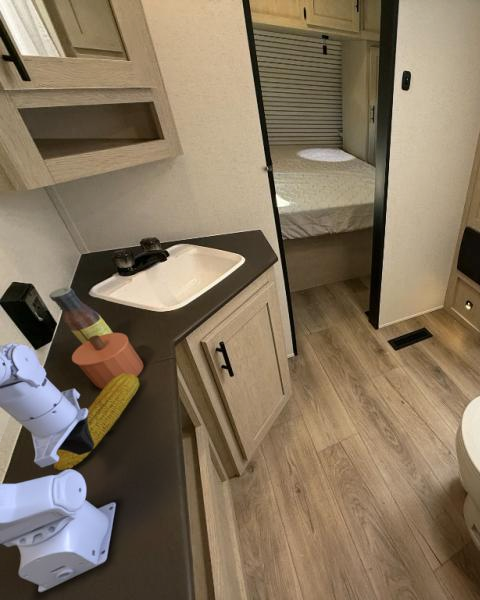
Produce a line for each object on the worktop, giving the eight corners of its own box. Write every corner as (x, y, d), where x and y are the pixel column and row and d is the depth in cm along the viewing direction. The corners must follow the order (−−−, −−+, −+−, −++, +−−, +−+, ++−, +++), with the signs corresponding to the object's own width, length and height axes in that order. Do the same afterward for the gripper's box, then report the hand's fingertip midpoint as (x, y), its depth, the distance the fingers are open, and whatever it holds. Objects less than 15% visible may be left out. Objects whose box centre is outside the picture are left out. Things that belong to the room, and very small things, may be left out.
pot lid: (126, 357, 73) (117, 345, 71) (69, 374, 69) (57, 361, 67) (132, 331, 81) (124, 318, 78) (80, 344, 77) (70, 331, 74)
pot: (141, 379, 78) (124, 355, 73) (91, 395, 74) (69, 370, 69) (145, 354, 85) (129, 330, 80) (99, 367, 81) (80, 342, 76)
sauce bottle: (126, 341, 89) (86, 282, 77) (116, 357, 84) (71, 297, 72) (99, 345, 88) (54, 285, 76) (87, 362, 83) (37, 300, 71)
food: (123, 386, 76) (111, 369, 73) (148, 385, 77) (136, 368, 73) (54, 477, 60) (33, 461, 56) (86, 474, 60) (67, 458, 56)
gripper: (57, 431, 48) (106, 474, 56) (81, 366, 58) (119, 410, 66) (-7, 453, 45) (53, 495, 53) (29, 380, 55) (75, 425, 63)
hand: (86, 449), depth 59 cm, fingers closed
